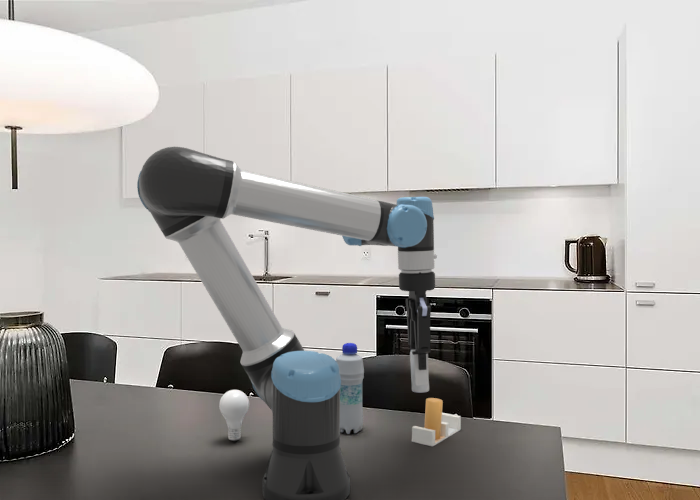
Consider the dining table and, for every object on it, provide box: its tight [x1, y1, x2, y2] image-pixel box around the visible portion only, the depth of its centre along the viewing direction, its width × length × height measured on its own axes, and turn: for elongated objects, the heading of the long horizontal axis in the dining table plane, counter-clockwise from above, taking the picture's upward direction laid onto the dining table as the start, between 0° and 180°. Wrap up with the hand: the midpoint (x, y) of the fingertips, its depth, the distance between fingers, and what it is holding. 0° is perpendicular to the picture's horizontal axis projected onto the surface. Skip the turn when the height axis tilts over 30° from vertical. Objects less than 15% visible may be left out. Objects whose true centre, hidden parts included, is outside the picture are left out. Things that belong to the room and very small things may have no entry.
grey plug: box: [409, 351, 430, 394], centre depth 127 cm, size 4×4×8 cm
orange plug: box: [423, 397, 444, 440], centre depth 132 cm, size 4×4×8 cm
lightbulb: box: [218, 389, 250, 442], centre depth 130 cm, size 6×6×11 cm
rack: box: [411, 412, 462, 447], centre depth 134 cm, size 13×5×3 cm, turn 143°
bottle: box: [335, 342, 365, 435], centre depth 137 cm, size 7×7×20 cm
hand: (419, 381), depth 127 cm, fingers closed on grey plug, 3 cm apart
